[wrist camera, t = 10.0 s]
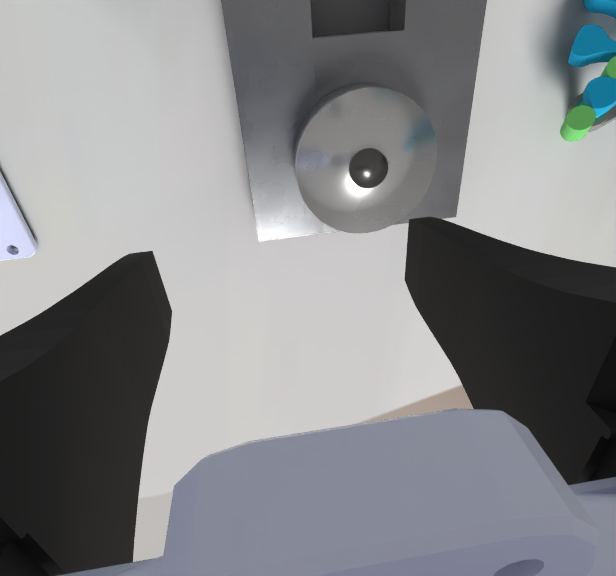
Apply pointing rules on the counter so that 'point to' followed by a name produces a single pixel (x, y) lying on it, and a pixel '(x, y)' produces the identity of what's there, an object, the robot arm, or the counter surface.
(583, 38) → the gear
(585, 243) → the counter surface
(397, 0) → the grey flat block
